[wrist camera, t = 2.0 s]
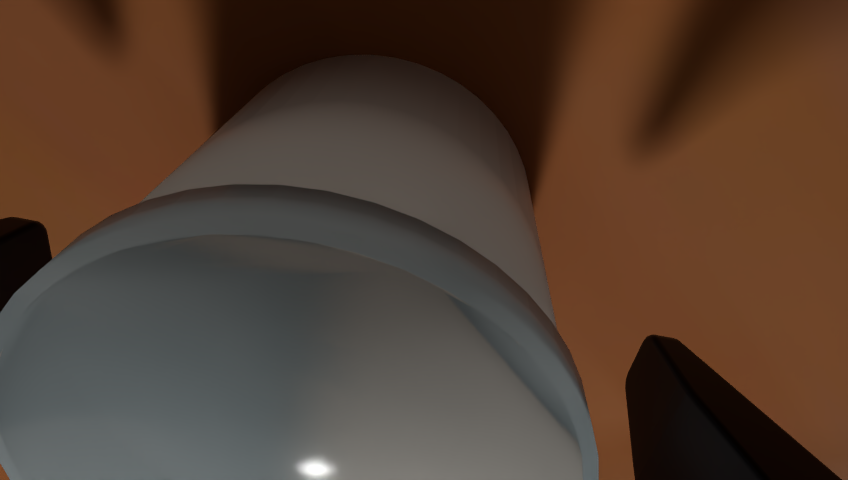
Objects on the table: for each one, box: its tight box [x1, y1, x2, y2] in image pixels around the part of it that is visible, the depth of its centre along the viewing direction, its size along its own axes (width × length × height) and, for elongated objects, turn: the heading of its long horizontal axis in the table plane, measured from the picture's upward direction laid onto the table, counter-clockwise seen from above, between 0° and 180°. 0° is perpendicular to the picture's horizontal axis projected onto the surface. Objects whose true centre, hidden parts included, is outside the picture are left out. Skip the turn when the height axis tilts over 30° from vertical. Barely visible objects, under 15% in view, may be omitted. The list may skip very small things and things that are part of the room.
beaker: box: [0, 55, 598, 480], centre depth 9 cm, size 6×6×6 cm
